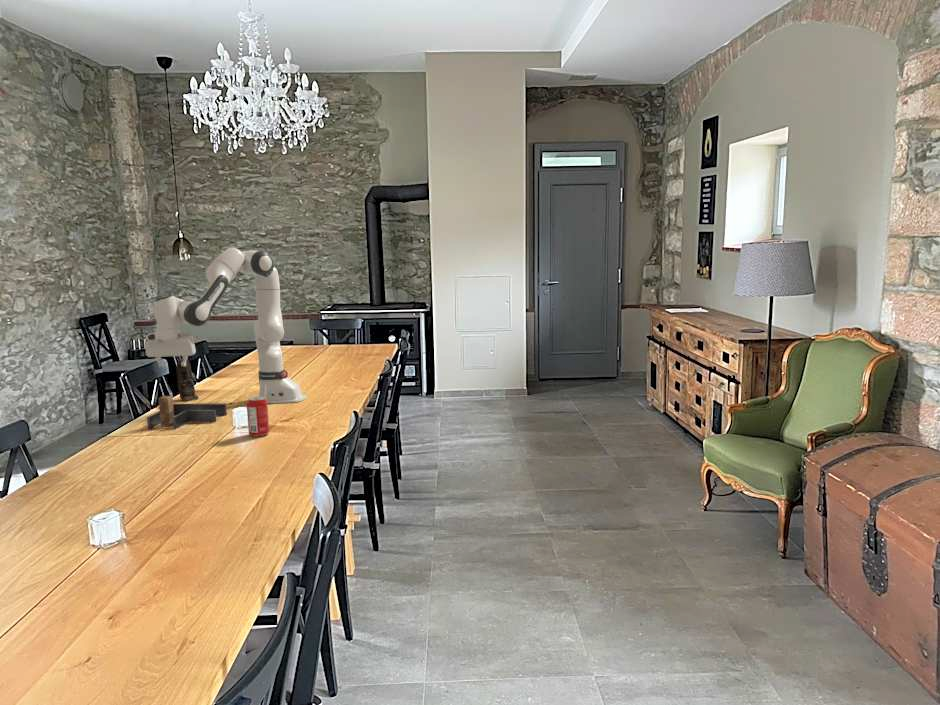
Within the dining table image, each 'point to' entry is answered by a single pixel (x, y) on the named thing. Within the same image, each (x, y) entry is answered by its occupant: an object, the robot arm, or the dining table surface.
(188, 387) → the statue
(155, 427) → the pad
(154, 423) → the channel
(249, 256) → the robot arm
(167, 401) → the walnut block
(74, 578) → the dining table surface
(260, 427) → the soda can
